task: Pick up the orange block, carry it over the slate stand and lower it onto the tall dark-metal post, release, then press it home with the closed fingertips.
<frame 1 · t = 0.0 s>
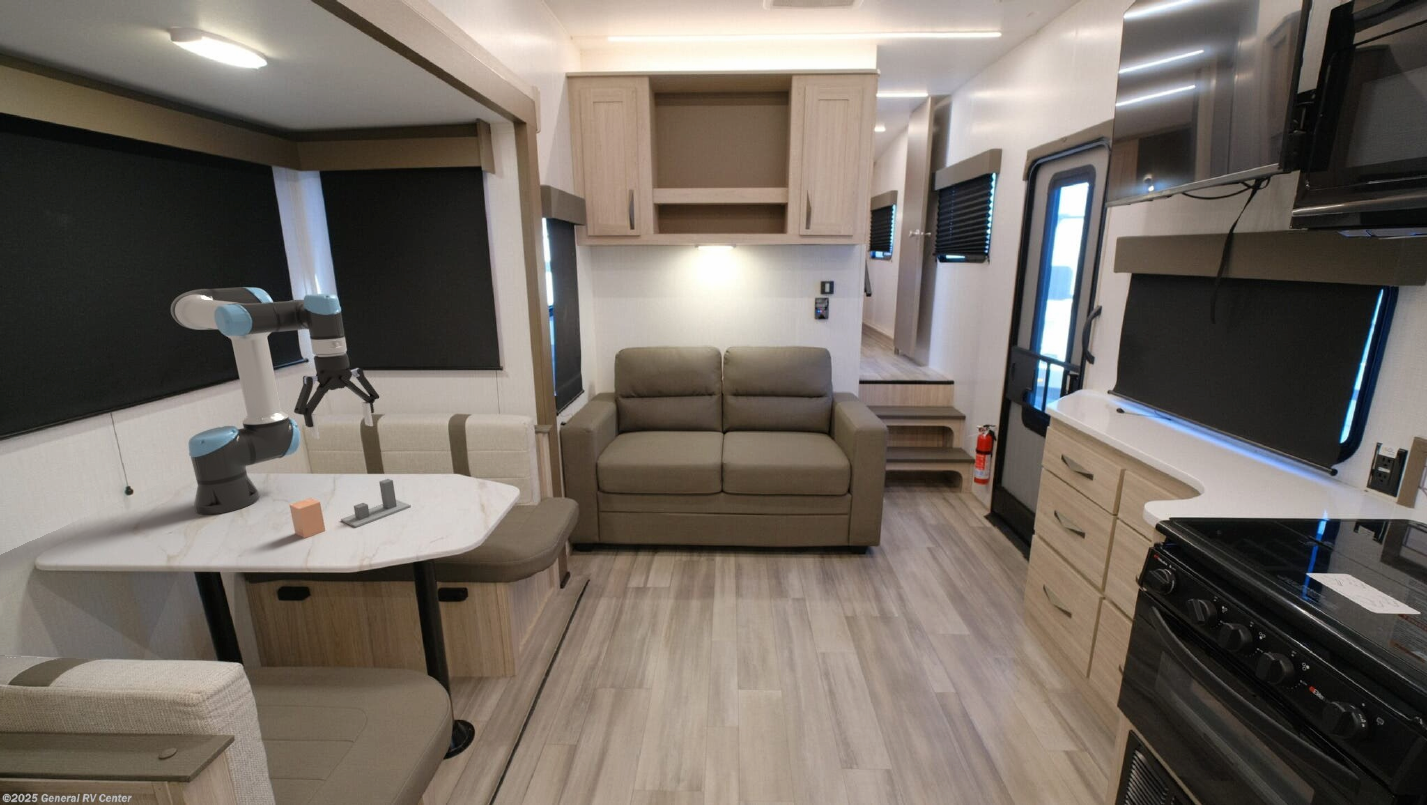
hand: (343, 431, 154), 28 cm above the table, fingers open, 13 cm apart
orange block: (310, 532, 157), on the table
stand: (376, 513, 168), on the table
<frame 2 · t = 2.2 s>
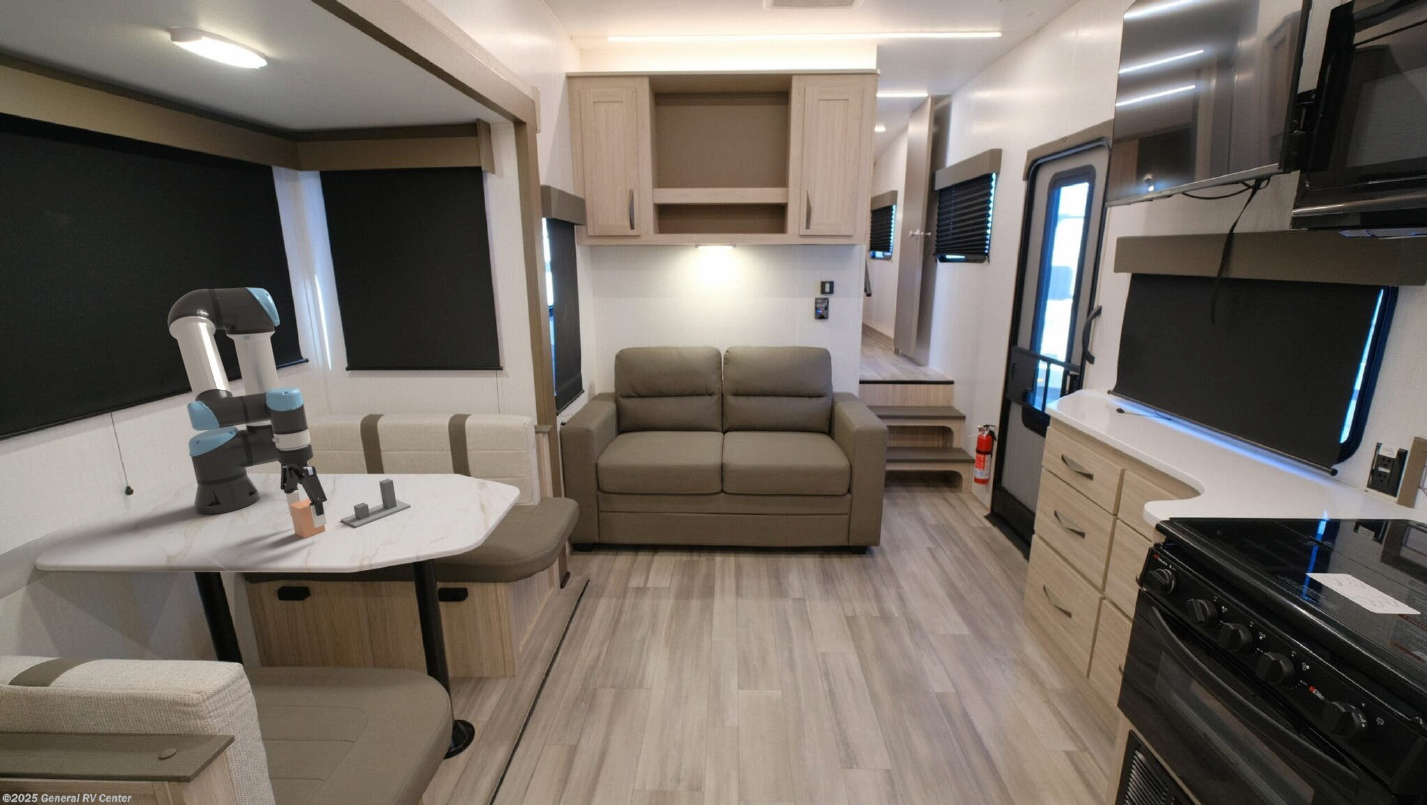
hand: (308, 520, 156), 4 cm above the table, fingers open, 13 cm apart
nothing on the table moved.
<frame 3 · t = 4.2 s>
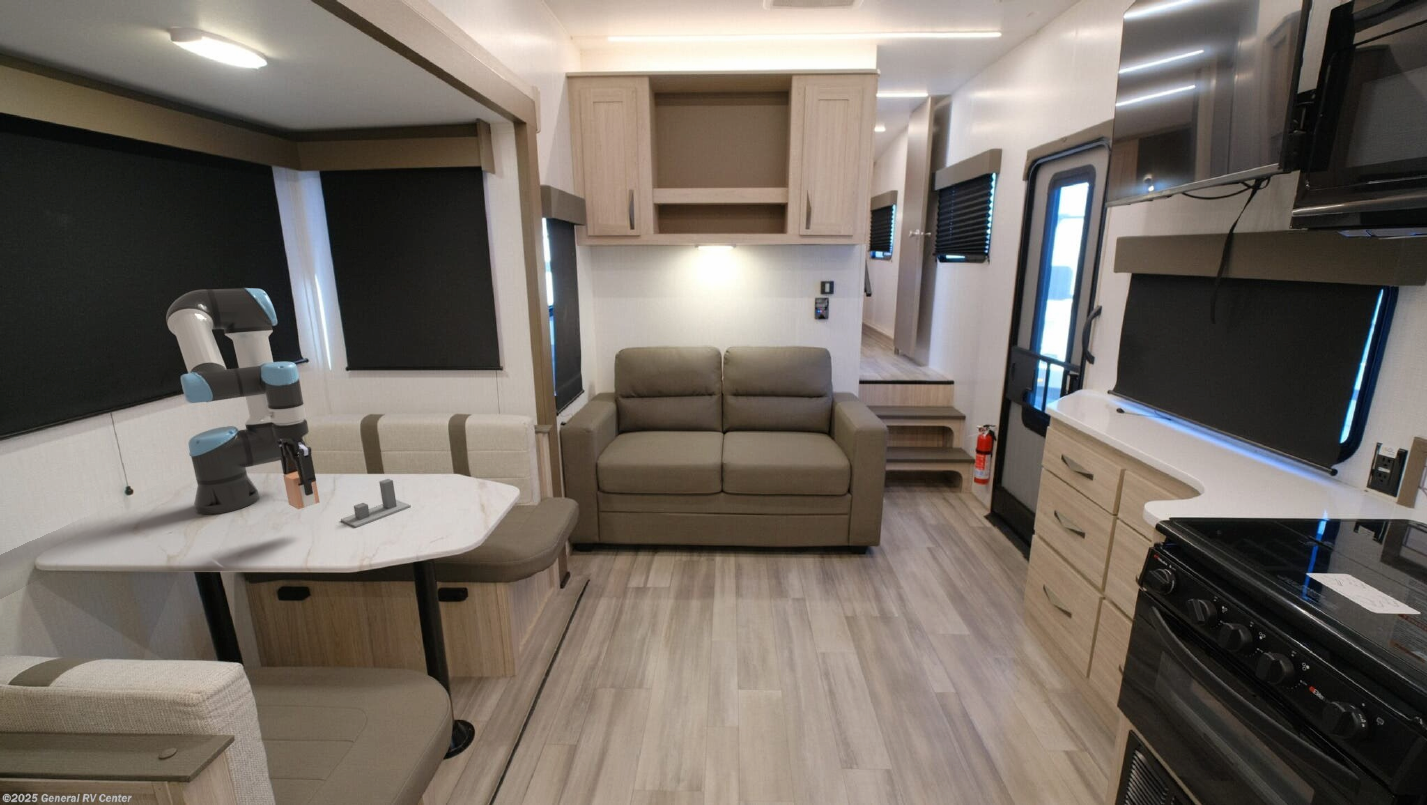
hand: (304, 502, 155), 9 cm above the table, fingers closed on orange block, 5 cm apart
orange block: (304, 503, 155), point 8 cm above the table, touching gripper
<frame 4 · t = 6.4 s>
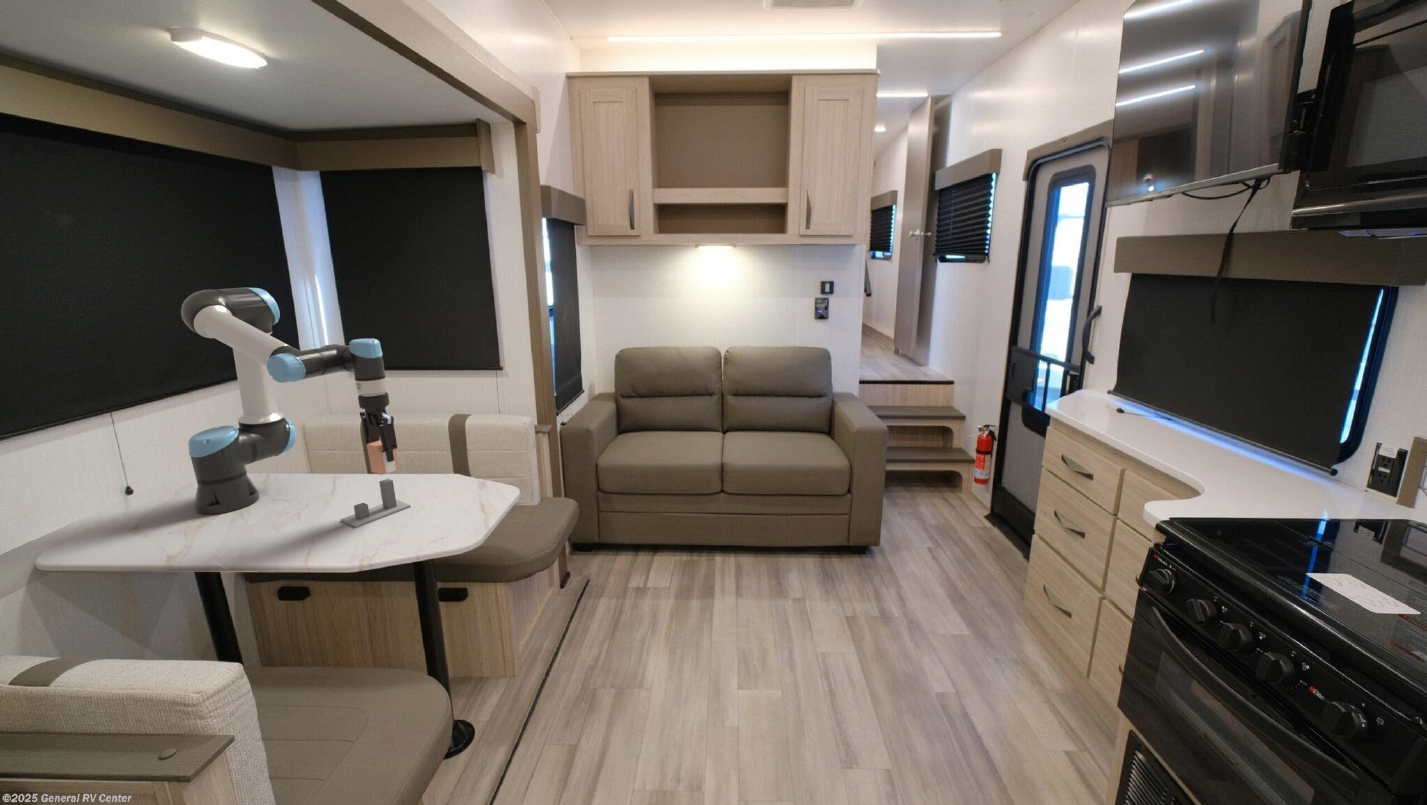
hand: (385, 469, 168), 13 cm above the table, fingers closed on orange block, 5 cm apart
orange block: (384, 470, 168), point 12 cm above the table, touching gripper
when the fingers open (2 cm above the table, at t = 8.7 s): orange block stays where it is, resting on stand.
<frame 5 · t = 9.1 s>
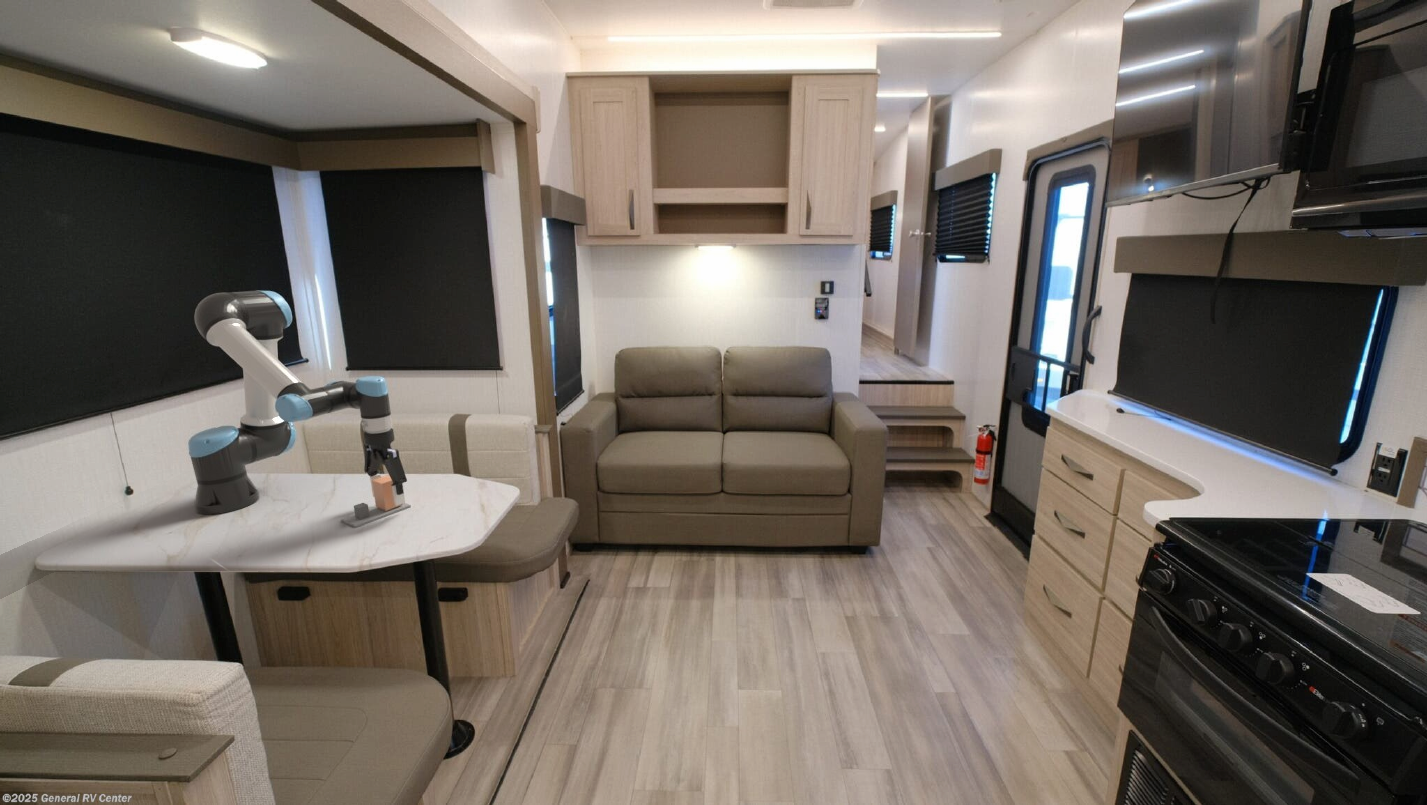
hand: (388, 499, 171), 3 cm above the table, fingers open, 11 cm apart
orange block: (389, 505, 171), point 1 cm above the table, touching stand
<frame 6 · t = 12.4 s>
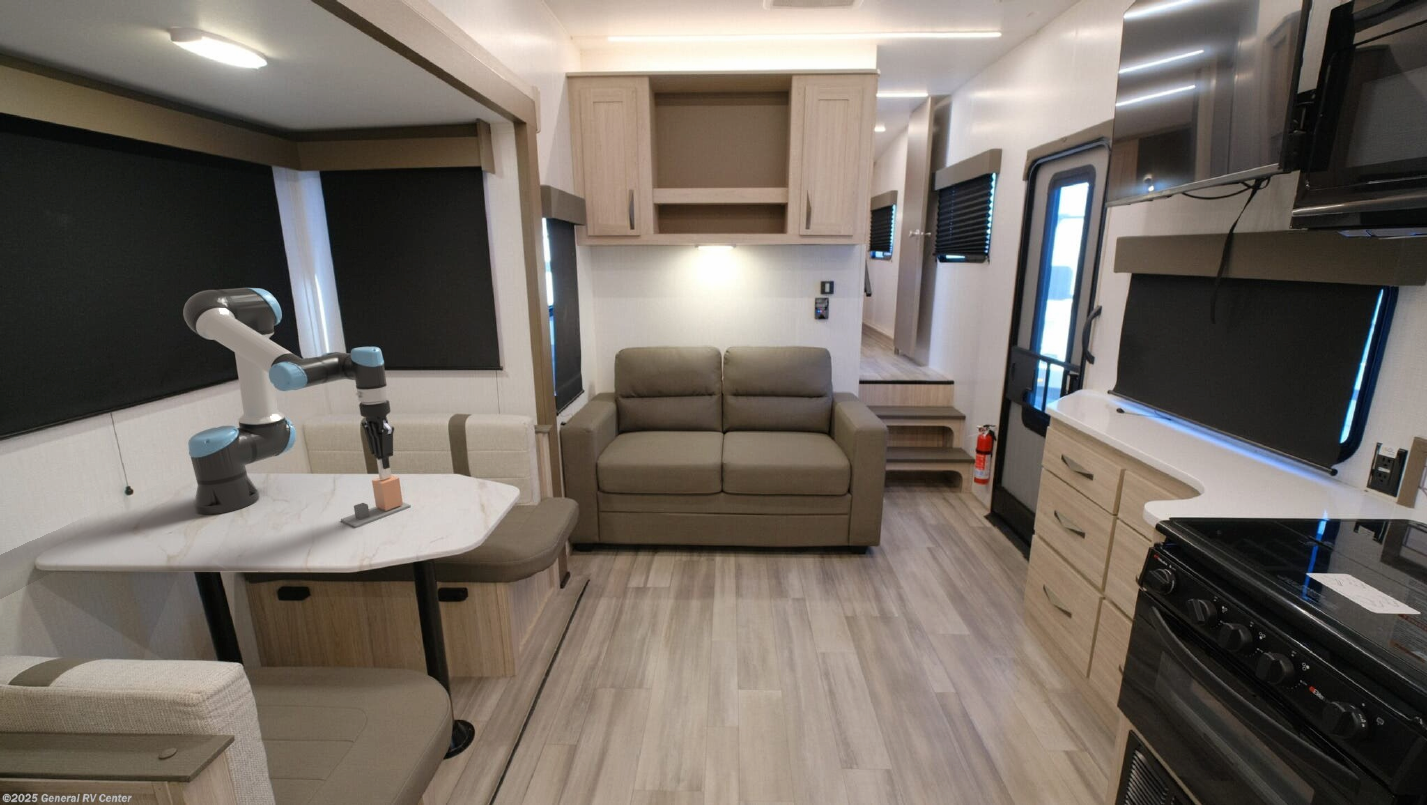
hand: (385, 477, 169), 10 cm above the table, fingers closed
nothing on the table moved.
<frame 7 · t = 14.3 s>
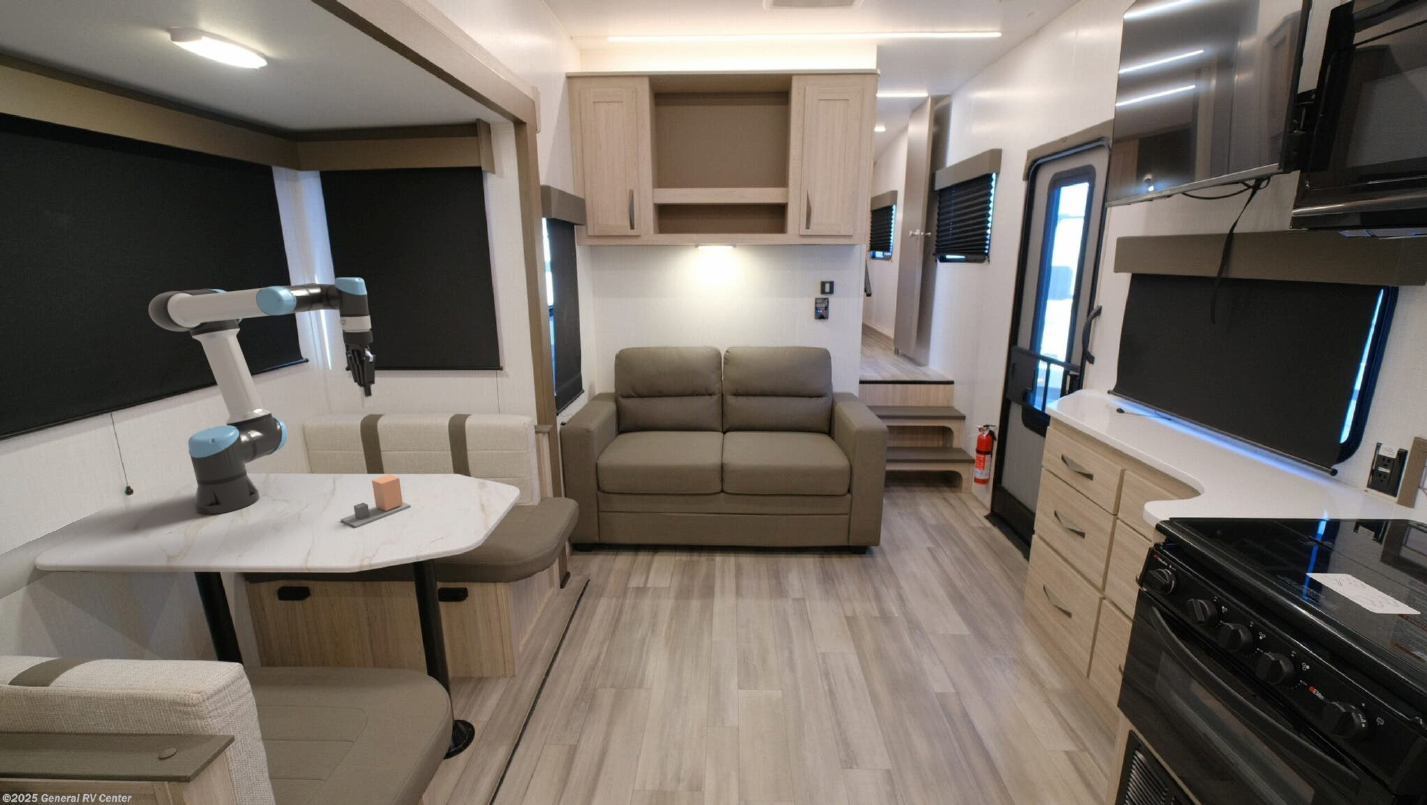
hand: (367, 406, 176), 29 cm above the table, fingers closed
nothing on the table moved.
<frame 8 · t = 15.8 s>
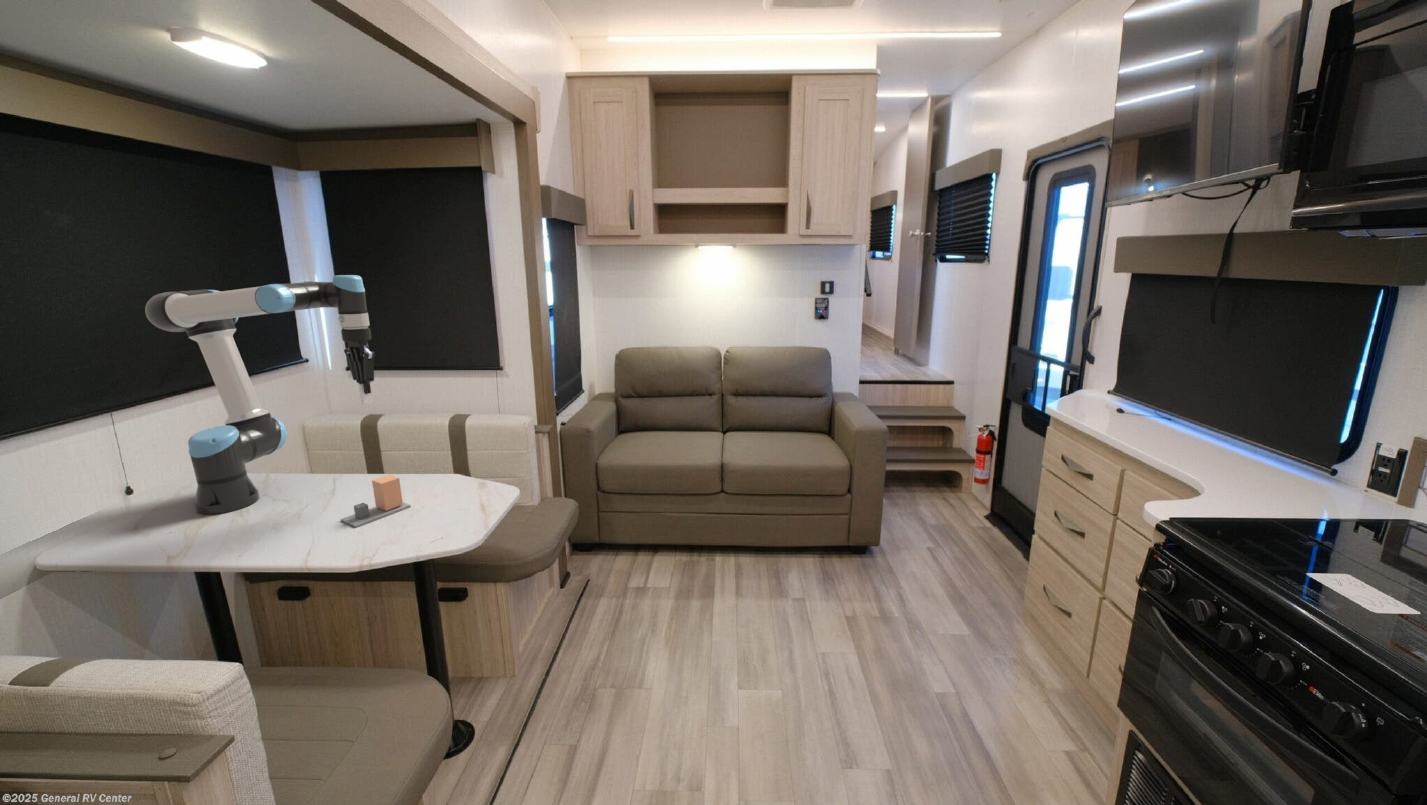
hand: (367, 403, 177), 29 cm above the table, fingers closed
nothing on the table moved.
at the end: orange block 0.1 cm from the target spot on the stand, point 1.0 cm above the stand's base; orange block tilted 0°; the gripper is holding nothing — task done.
